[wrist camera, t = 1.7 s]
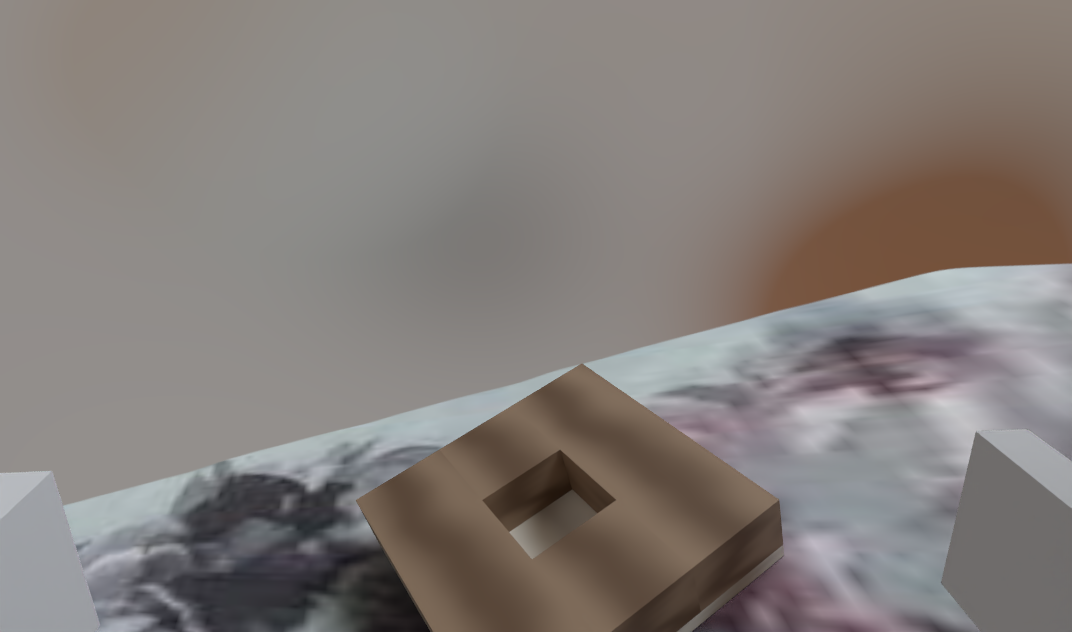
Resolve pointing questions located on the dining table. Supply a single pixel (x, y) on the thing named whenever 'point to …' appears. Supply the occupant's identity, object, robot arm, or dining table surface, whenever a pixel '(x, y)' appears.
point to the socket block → (574, 520)
